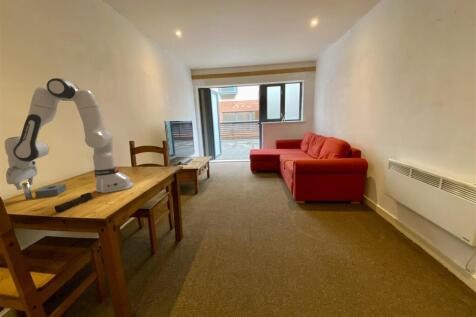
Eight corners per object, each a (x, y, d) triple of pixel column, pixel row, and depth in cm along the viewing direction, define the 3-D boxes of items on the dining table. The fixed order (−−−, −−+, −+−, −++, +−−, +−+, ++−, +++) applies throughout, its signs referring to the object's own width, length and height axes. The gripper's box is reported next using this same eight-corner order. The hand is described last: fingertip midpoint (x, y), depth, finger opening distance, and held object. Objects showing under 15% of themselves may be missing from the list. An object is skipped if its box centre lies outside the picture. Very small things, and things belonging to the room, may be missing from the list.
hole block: (66, 189, 138) (65, 184, 137) (58, 195, 128) (56, 189, 127) (46, 191, 135) (45, 186, 134) (36, 197, 125) (34, 191, 124)
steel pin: (33, 197, 125) (30, 181, 123) (30, 199, 123) (26, 183, 121) (27, 198, 125) (23, 182, 123) (24, 200, 122) (20, 184, 120)
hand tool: (60, 213, 102) (58, 204, 101) (54, 212, 103) (53, 204, 102) (96, 199, 119) (95, 191, 119) (91, 198, 121) (89, 191, 120)
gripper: (14, 167, 111) (20, 192, 113) (37, 160, 130) (41, 181, 132) (-1, 168, 109) (5, 193, 111) (25, 161, 128) (29, 182, 130)
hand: (25, 187), depth 122 cm, fingers open, 8 cm apart
